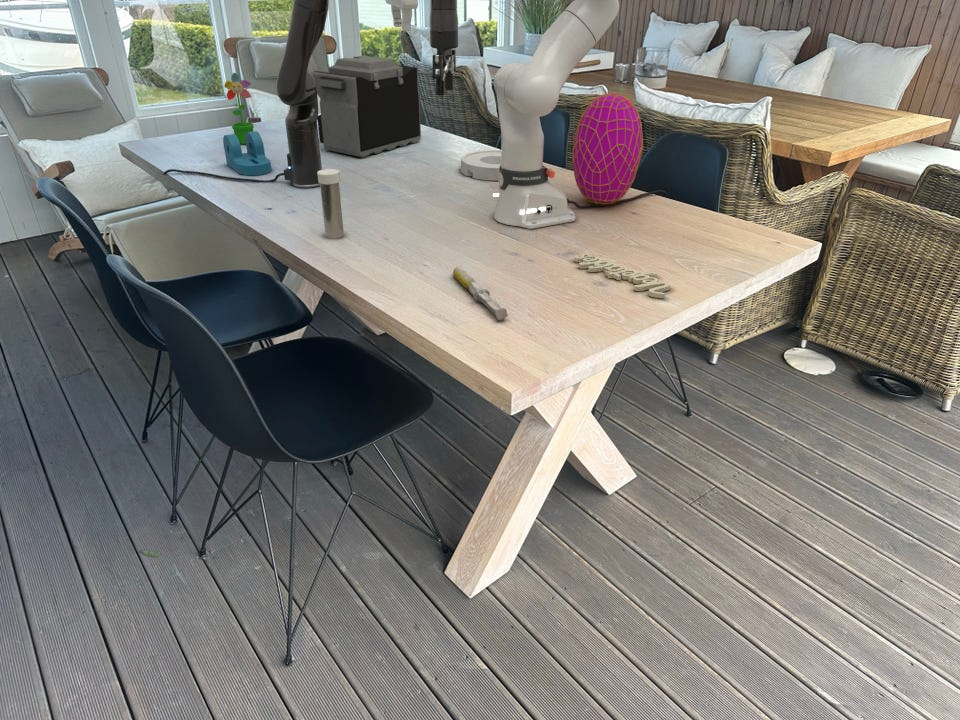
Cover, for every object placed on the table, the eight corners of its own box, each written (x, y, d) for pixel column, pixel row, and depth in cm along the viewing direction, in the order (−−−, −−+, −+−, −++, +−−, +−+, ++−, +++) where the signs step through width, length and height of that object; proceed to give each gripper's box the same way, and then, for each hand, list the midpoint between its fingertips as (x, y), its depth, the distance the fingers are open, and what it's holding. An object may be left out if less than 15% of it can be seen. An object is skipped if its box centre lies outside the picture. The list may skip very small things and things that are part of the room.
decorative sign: (686, 282, 150) (660, 295, 144) (686, 286, 150) (659, 300, 144) (592, 249, 166) (565, 259, 160) (592, 253, 167) (565, 263, 161)
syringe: (449, 274, 155) (449, 263, 153) (465, 272, 156) (464, 260, 154) (490, 323, 135) (491, 310, 133) (508, 319, 136) (508, 307, 134)
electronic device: (383, 133, 276) (378, 52, 261) (425, 141, 265) (422, 56, 250) (314, 150, 251) (304, 61, 235) (358, 160, 240) (350, 67, 224)
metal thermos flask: (328, 232, 178) (321, 170, 170) (345, 232, 178) (340, 171, 170) (323, 238, 174) (316, 176, 166) (341, 239, 174) (335, 176, 166)
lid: (321, 178, 171) (320, 168, 170) (342, 178, 171) (341, 169, 170) (315, 184, 167) (314, 174, 165) (337, 184, 166) (336, 175, 165)
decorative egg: (611, 217, 189) (624, 103, 174) (555, 202, 201) (562, 94, 185) (647, 202, 202) (662, 94, 186) (592, 188, 213) (602, 86, 198)
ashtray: (462, 161, 240) (462, 149, 238) (529, 162, 239) (529, 150, 237) (459, 179, 220) (459, 167, 218) (531, 181, 220) (531, 168, 217)
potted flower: (235, 145, 255) (223, 73, 243) (231, 141, 261) (219, 70, 249) (261, 143, 259) (250, 72, 247) (256, 139, 265) (246, 69, 252)
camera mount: (227, 164, 233) (221, 132, 227) (257, 160, 238) (252, 129, 233) (244, 176, 220) (239, 143, 215) (276, 172, 225) (271, 139, 220)
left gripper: (438, 25, 189) (439, 88, 198) (422, 30, 177) (424, 96, 186) (464, 26, 188) (464, 89, 196) (450, 31, 176) (450, 97, 184)
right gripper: (424, -41, 142) (426, 33, 149) (403, -42, 159) (406, 24, 166) (394, -41, 140) (397, 33, 147) (376, -42, 157) (380, 25, 164)
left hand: (444, 92), depth 191 cm, fingers open, 8 cm apart
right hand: (402, 28), depth 157 cm, fingers open, 8 cm apart
